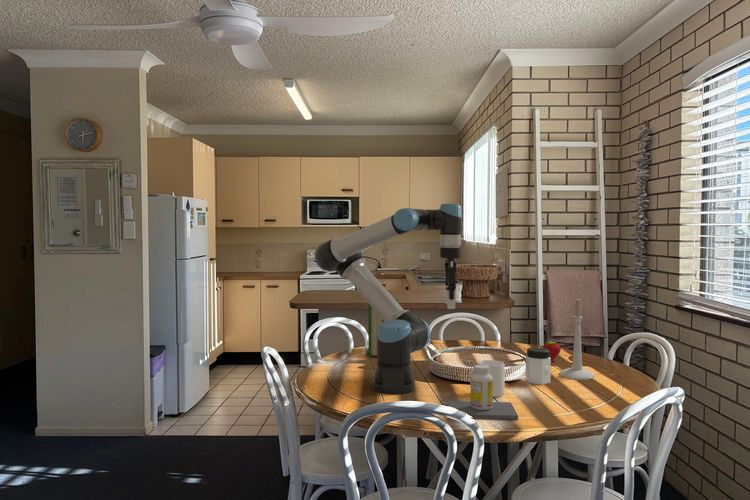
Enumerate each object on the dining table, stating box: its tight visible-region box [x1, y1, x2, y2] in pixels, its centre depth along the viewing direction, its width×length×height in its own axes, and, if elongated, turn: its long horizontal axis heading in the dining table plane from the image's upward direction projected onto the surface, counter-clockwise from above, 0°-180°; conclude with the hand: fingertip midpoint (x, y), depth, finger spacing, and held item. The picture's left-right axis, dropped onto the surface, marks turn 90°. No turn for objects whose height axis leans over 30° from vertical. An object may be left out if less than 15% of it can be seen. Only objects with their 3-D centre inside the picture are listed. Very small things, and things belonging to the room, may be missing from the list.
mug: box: [468, 359, 506, 398], centre depth 195 cm, size 9×12×11 cm
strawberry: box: [542, 340, 562, 362], centre depth 244 cm, size 6×8×10 cm
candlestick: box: [559, 298, 596, 381], centre depth 219 cm, size 13×13×30 cm
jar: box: [525, 346, 552, 385], centre depth 211 cm, size 9×8×12 cm
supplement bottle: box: [470, 364, 494, 410], centre depth 176 cm, size 7×7×13 cm
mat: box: [447, 400, 519, 421], centre depth 176 cm, size 20×13×1 cm, turn 86°
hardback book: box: [367, 298, 399, 358], centre depth 257 cm, size 18×7×24 cm, turn 158°
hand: (450, 306), depth 204 cm, fingers open, 13 cm apart
